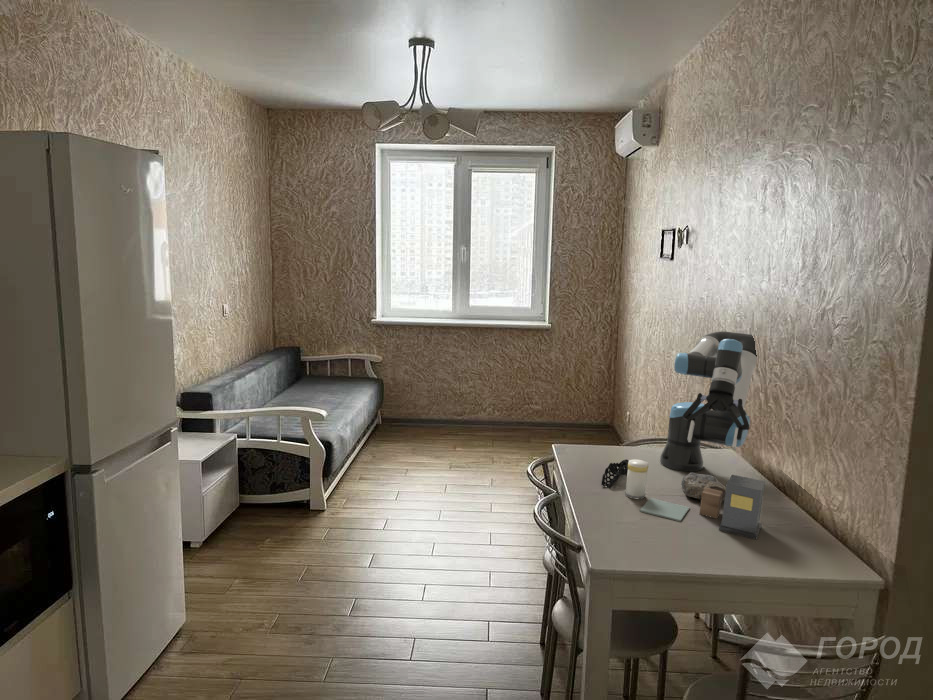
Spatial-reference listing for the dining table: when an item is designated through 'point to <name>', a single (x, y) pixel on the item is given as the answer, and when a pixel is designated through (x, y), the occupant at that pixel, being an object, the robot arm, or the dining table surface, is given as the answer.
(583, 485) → the dining table surface
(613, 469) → the decorative element
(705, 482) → the rock
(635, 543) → the dining table surface
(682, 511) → the mat
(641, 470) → the cartridge
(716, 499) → the walnut block
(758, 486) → the box
